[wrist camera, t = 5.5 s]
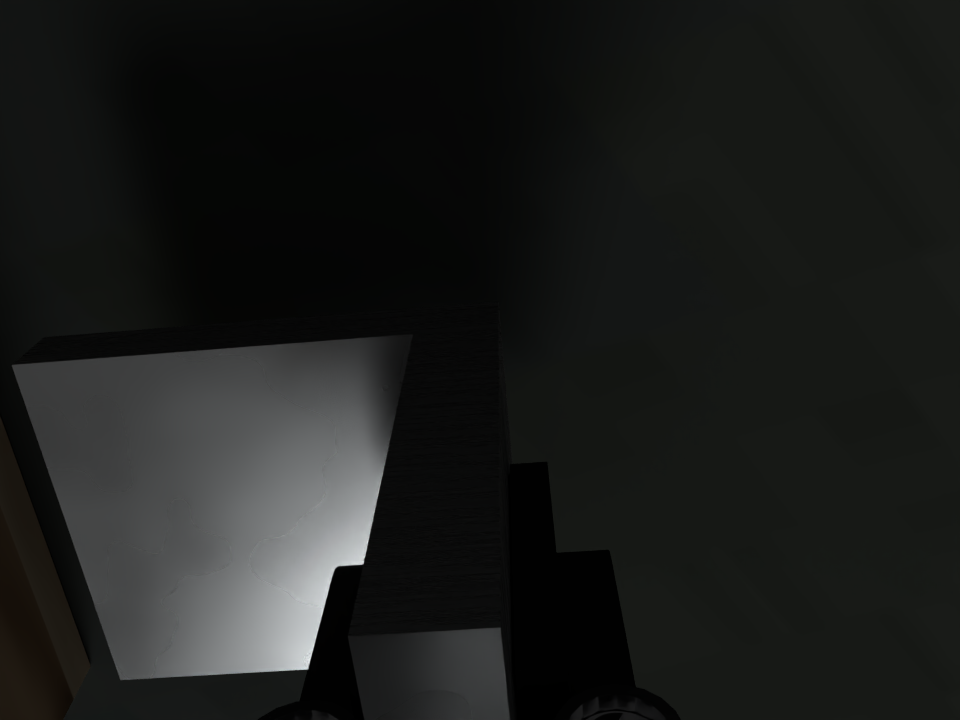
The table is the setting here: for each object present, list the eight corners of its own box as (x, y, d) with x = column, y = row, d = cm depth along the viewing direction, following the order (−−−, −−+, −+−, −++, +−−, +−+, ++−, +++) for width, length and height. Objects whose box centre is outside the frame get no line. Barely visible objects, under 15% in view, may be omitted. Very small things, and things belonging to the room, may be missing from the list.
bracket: (498, 301, 13) (500, 627, 7) (525, 616, 16) (545, 1066, 9) (43, 337, 14) (-353, 677, 7) (141, 639, 16) (-89, 1087, 10)
